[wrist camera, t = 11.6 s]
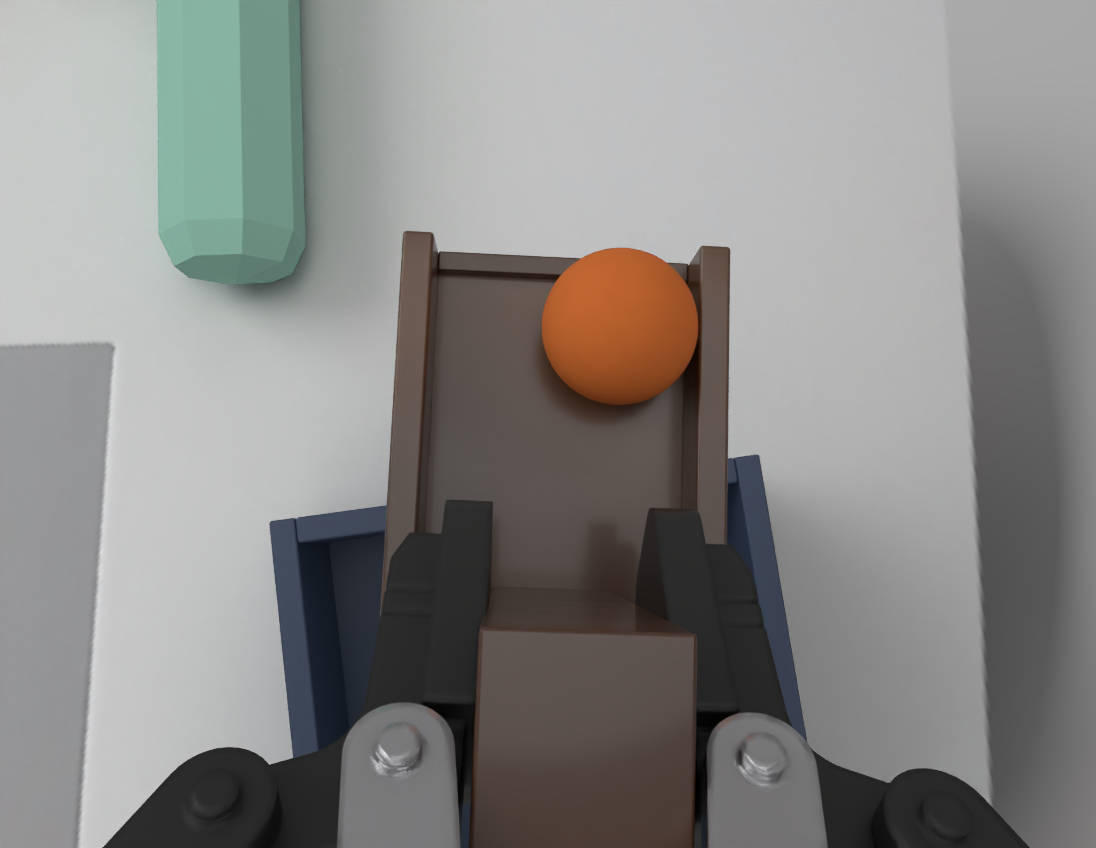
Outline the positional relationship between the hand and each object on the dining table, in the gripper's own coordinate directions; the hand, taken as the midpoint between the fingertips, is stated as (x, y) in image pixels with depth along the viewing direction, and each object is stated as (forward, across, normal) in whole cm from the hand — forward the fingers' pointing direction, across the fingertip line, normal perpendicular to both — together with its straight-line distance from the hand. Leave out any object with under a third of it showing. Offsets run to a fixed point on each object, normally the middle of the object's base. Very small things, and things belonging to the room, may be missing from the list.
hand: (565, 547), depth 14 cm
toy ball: (+5, -1, -1) cm, 5 cm away
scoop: (+4, 0, +3) cm, 5 cm away
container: (+29, +12, -1) cm, 32 cm away
